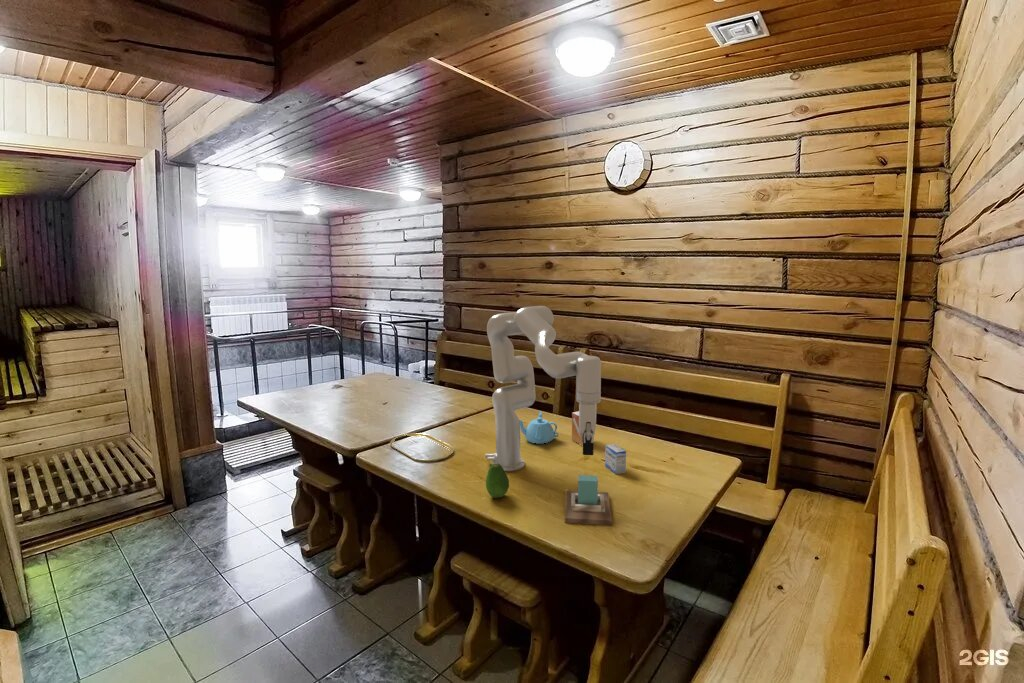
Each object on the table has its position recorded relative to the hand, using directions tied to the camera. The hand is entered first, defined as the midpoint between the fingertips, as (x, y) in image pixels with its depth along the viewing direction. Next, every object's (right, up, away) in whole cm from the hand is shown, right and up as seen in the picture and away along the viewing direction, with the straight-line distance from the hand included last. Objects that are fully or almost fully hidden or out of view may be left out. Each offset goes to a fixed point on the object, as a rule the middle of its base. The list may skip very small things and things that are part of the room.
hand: (587, 448), depth 152 cm
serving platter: (-63, -13, +57) cm, 86 cm away
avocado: (-29, -19, +12) cm, 37 cm away
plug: (0, -19, +3) cm, 19 cm away
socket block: (0, -20, +3) cm, 20 cm away
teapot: (-13, -10, +64) cm, 66 cm away
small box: (+7, -11, +60) cm, 61 cm away
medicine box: (+15, -15, +32) cm, 39 cm away
